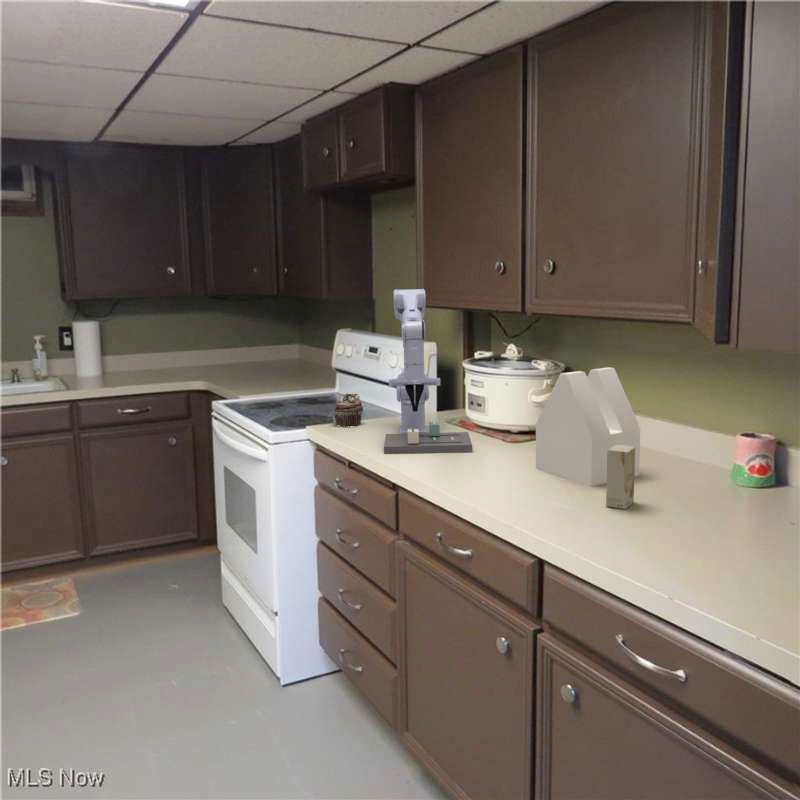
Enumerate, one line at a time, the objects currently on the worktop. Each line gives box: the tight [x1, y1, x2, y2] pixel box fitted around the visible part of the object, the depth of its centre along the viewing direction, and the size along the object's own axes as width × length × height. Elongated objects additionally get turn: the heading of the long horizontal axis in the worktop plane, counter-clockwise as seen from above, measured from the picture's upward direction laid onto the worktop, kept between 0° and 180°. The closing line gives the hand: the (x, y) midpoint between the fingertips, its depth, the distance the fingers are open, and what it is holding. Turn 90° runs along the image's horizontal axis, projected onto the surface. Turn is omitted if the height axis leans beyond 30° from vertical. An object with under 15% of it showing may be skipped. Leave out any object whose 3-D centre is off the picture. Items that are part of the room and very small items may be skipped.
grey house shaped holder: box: [535, 366, 641, 488], centre depth 186 cm, size 19×15×25 cm
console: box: [383, 431, 473, 455], centre depth 218 cm, size 16×24×2 cm, turn 89°
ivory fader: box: [408, 429, 419, 444], centre depth 213 cm, size 4×3×3 cm
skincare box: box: [605, 445, 635, 510], centre depth 162 cm, size 6×4×12 cm
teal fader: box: [428, 421, 441, 436], centre depth 222 cm, size 4×3×3 cm
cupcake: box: [333, 393, 364, 428], centre depth 249 cm, size 10×10×10 cm
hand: (415, 411), depth 220 cm, fingers closed
